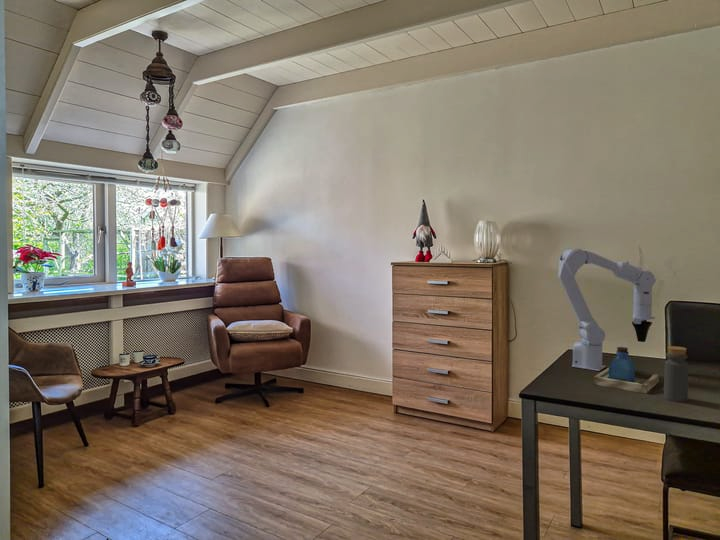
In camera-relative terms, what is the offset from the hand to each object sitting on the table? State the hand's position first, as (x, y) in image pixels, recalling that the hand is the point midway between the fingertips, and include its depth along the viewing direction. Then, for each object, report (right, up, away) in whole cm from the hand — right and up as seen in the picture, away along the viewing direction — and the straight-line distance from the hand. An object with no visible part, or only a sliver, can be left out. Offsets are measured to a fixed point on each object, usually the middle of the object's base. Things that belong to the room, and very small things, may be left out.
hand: (641, 341), depth 178 cm
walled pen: (-15, -11, -17) cm, 25 cm away
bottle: (-10, -12, -34) cm, 37 cm away
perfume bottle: (-18, -11, -20) cm, 29 cm away
